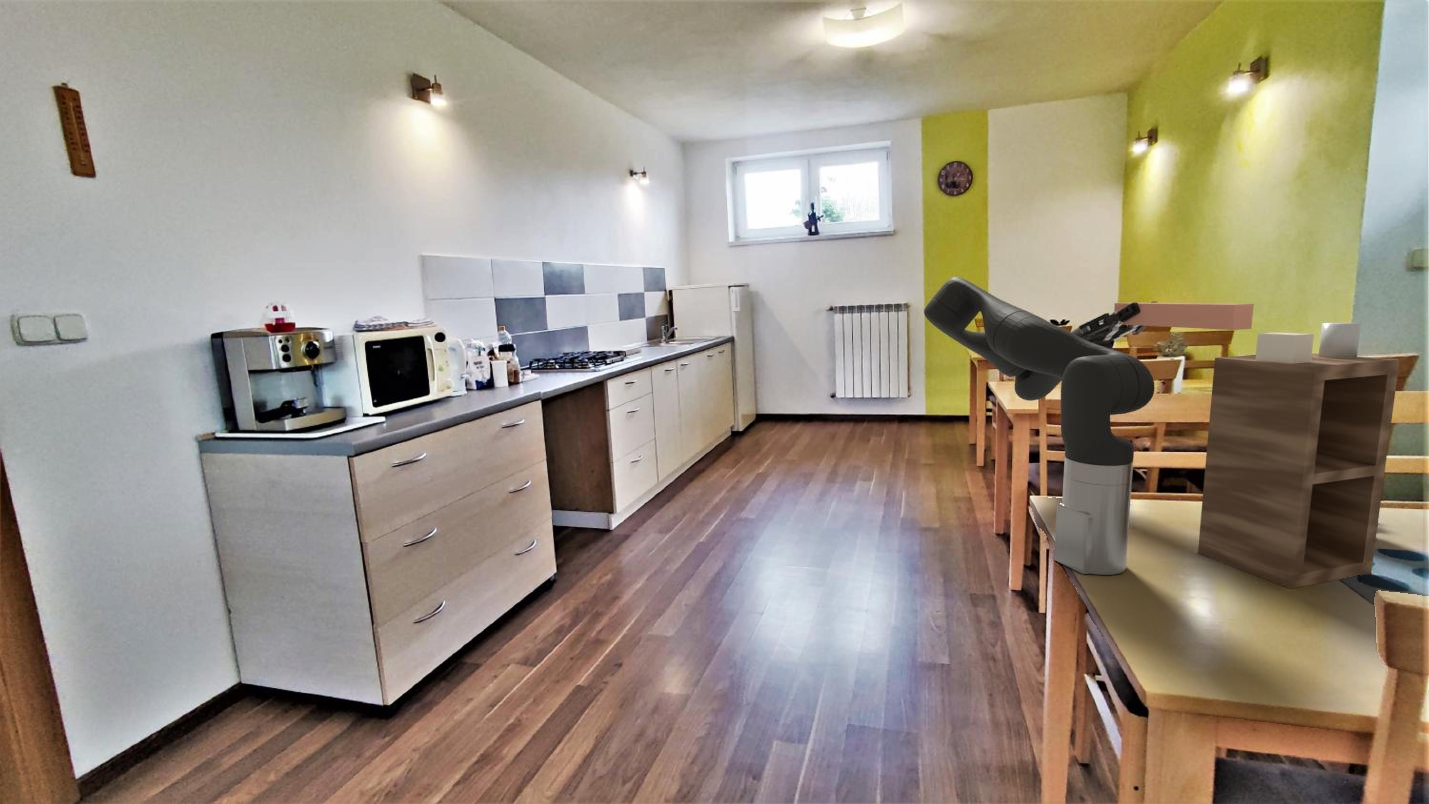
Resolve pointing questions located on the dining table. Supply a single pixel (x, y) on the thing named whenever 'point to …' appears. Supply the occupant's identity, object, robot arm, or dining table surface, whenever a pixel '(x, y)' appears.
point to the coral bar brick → (1192, 315)
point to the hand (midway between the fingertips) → (1147, 306)
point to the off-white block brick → (1284, 347)
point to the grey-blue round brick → (1339, 340)
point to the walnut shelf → (1296, 466)
